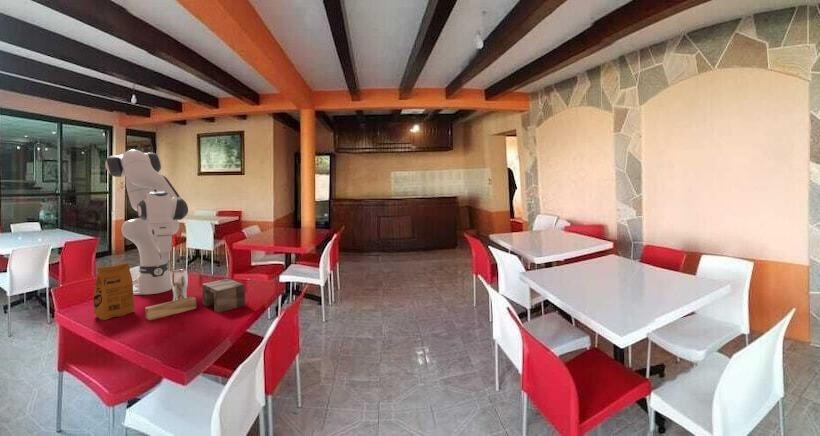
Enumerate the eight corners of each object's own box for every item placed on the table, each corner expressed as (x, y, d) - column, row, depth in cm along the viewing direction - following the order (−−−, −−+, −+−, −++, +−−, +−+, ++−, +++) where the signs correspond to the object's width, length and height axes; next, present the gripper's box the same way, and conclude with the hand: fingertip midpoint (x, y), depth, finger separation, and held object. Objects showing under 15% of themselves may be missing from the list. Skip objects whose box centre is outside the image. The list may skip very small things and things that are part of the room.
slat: (145, 318, 144) (145, 307, 144) (192, 306, 159) (192, 296, 158) (149, 321, 142) (148, 309, 141) (196, 308, 156) (195, 298, 156)
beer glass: (180, 304, 161) (178, 273, 159) (167, 302, 162) (166, 272, 161) (192, 299, 168) (190, 269, 166) (180, 298, 169) (178, 268, 167)
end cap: (202, 304, 161) (202, 283, 160) (228, 297, 171) (228, 278, 170) (218, 312, 152) (217, 290, 151) (245, 305, 161) (244, 284, 160)
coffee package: (92, 316, 144) (88, 266, 142) (128, 307, 155) (125, 260, 153) (100, 322, 139) (96, 269, 137) (137, 312, 150) (134, 263, 147)
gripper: (149, 227, 152) (151, 258, 153) (154, 232, 136) (157, 265, 138) (166, 226, 156) (168, 256, 157) (173, 230, 141) (176, 263, 142)
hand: (163, 260), depth 147 cm, fingers open, 8 cm apart
